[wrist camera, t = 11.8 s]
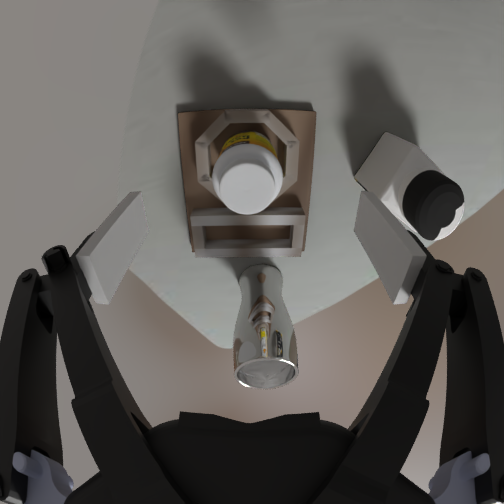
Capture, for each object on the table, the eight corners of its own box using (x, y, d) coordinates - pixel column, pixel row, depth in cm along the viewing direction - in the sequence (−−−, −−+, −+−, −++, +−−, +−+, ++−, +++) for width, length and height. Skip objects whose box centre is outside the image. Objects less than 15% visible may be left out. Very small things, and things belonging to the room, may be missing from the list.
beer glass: (271, 252, 35) (283, 348, 23) (294, 287, 39) (310, 378, 26) (226, 274, 37) (218, 369, 25) (251, 305, 40) (253, 395, 28)
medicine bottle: (352, 177, 29) (399, 227, 19) (384, 130, 26) (447, 160, 16) (391, 206, 31) (440, 260, 21) (421, 164, 28) (482, 205, 18)
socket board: (314, 110, 25) (321, 113, 23) (302, 247, 35) (307, 260, 32) (180, 112, 25) (172, 114, 23) (193, 247, 35) (189, 261, 32)
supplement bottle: (250, 118, 25) (251, 134, 16) (285, 158, 27) (303, 194, 19) (209, 153, 27) (191, 187, 18) (245, 189, 29) (243, 238, 21)
